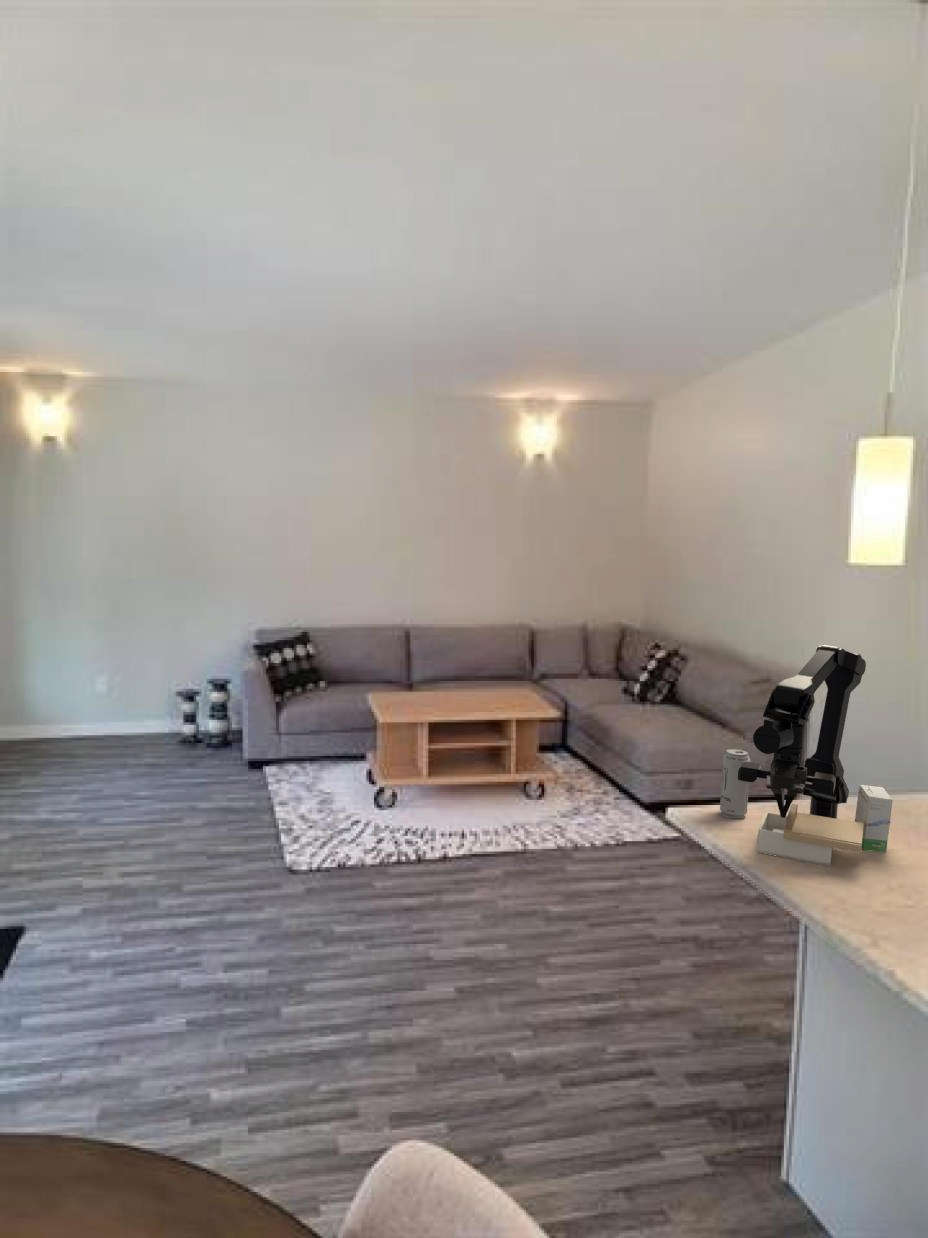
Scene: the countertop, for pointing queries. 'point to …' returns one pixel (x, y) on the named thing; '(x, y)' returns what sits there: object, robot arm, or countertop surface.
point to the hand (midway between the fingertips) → (783, 817)
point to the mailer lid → (823, 831)
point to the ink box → (874, 817)
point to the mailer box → (788, 843)
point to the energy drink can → (734, 785)
